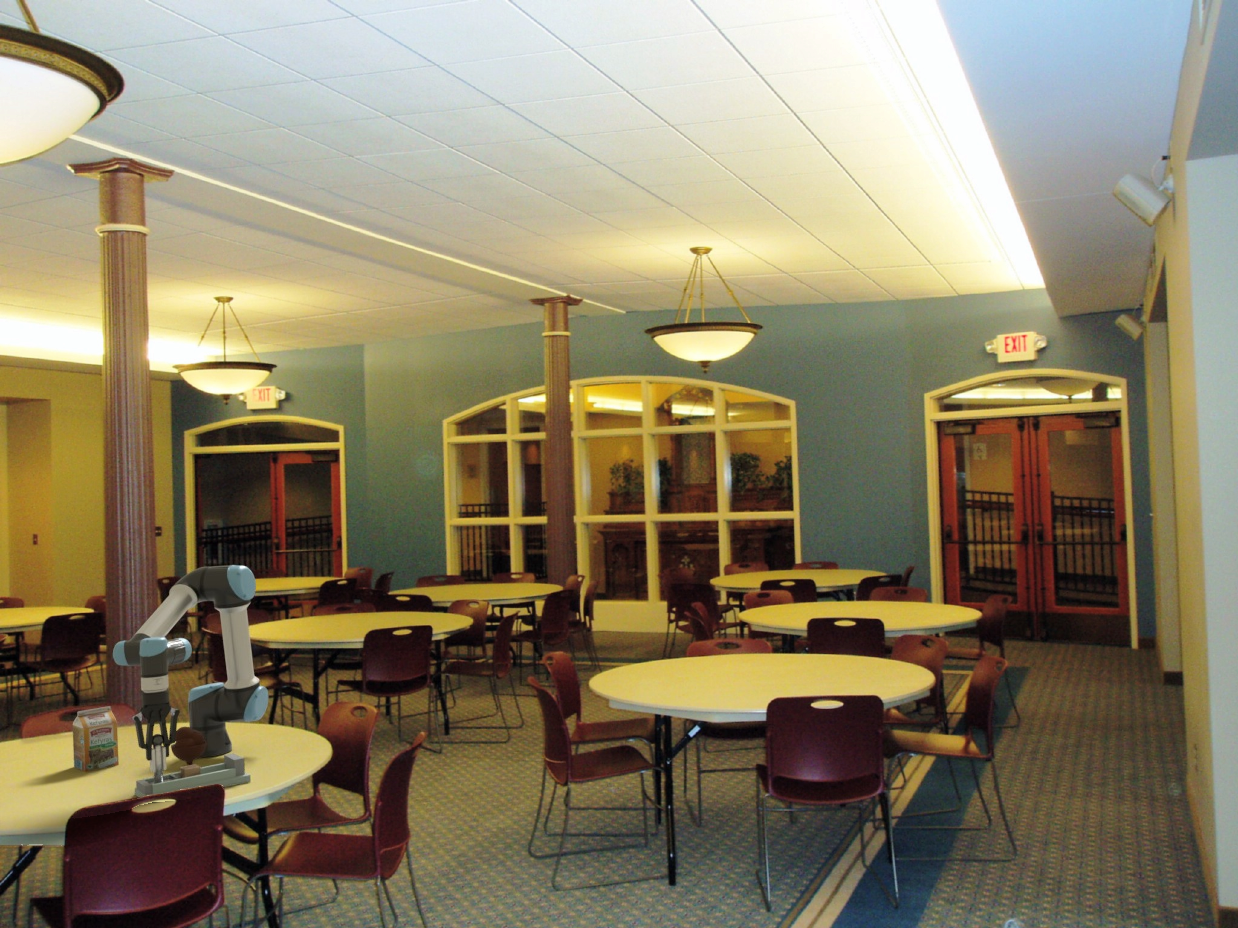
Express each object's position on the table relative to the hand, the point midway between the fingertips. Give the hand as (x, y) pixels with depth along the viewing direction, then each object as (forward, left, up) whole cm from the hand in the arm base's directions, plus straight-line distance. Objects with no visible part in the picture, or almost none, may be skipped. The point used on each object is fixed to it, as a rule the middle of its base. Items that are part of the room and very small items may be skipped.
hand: (158, 769), depth 320 cm
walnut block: (0, +9, -6) cm, 11 cm away
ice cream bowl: (-19, +15, -8) cm, 25 cm away
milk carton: (-56, -4, -8) cm, 57 cm away
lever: (0, +2, -5) cm, 6 cm away
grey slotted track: (0, +10, -8) cm, 12 cm away
